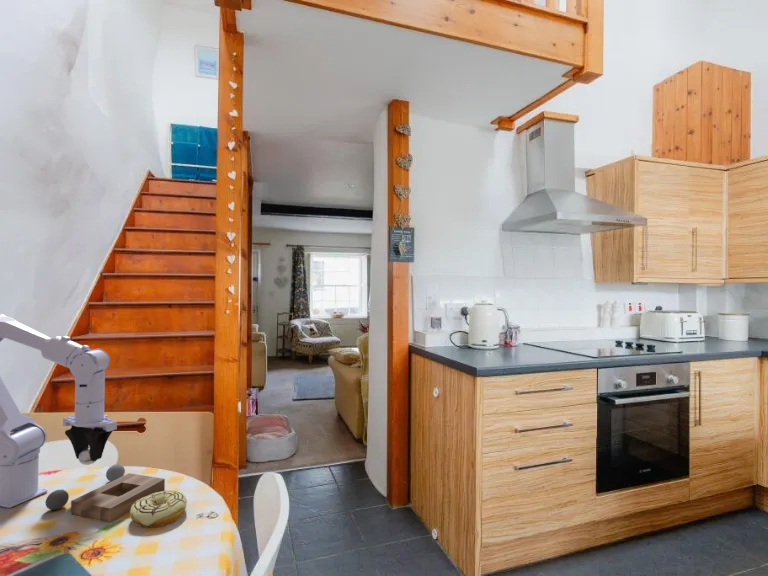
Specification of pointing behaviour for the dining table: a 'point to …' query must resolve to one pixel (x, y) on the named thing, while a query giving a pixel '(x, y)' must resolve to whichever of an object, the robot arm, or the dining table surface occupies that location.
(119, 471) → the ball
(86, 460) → the steel ball
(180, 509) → the decorated donut
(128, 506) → the hole plate
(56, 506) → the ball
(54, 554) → the dining table surface
